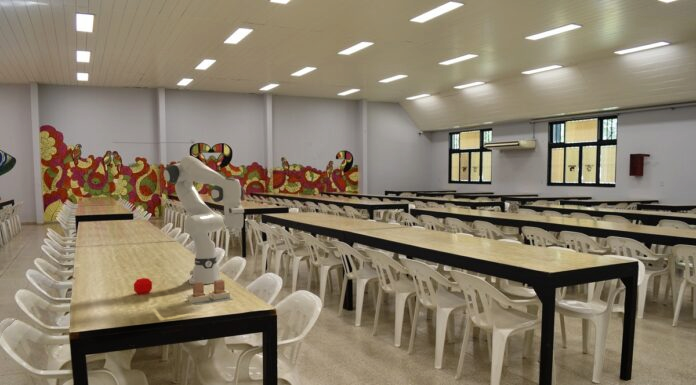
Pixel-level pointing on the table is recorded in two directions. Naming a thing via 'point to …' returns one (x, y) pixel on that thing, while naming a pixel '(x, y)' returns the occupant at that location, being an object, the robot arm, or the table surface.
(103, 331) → the table surface
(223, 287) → the terracotta pin
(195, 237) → the robot arm
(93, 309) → the table surface
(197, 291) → the pin
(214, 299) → the board
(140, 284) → the ball
